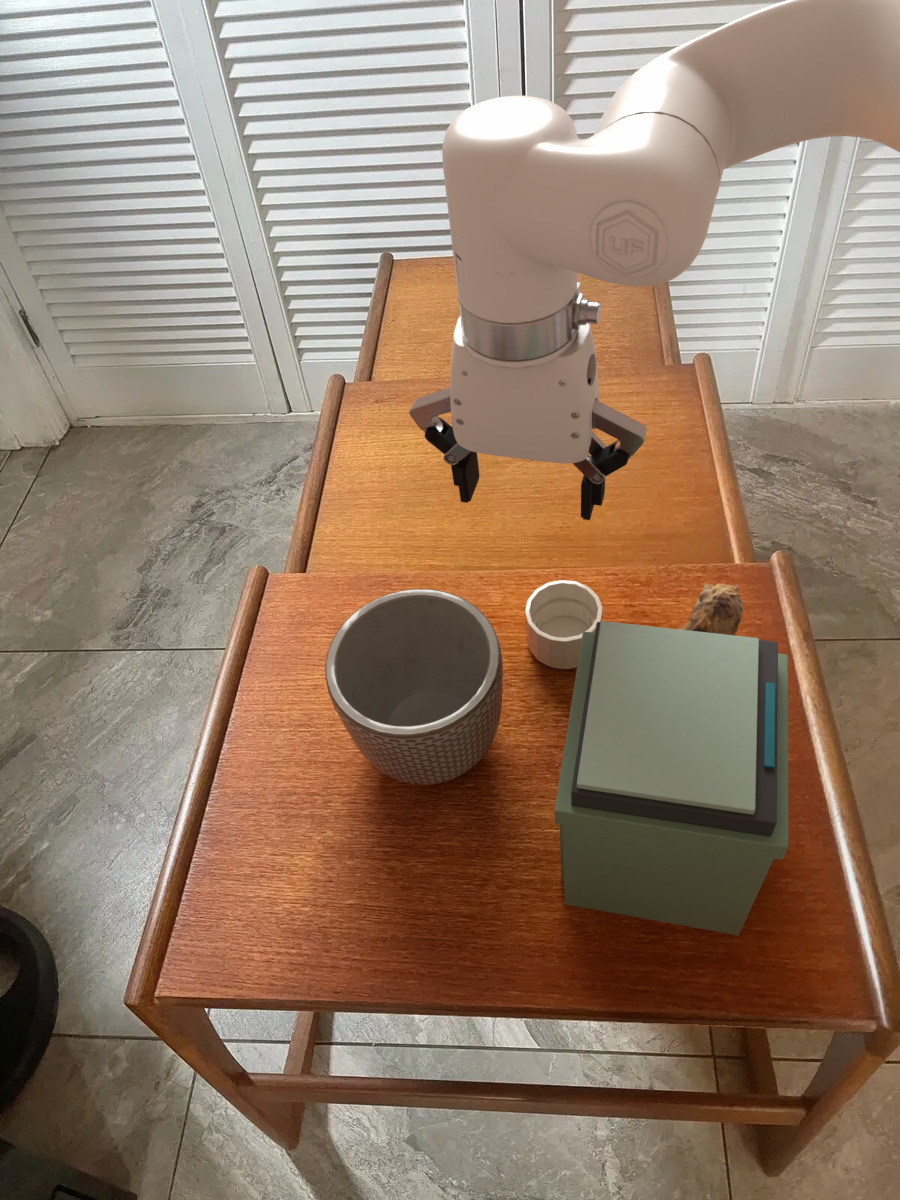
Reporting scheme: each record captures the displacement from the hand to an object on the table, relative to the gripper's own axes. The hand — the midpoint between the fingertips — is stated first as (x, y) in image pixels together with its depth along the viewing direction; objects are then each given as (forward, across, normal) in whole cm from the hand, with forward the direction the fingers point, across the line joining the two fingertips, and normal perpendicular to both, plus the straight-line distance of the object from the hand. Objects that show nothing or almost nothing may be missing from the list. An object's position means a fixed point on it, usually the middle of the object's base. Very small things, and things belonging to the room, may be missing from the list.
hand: (528, 498), depth 71 cm
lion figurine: (+18, -12, +2) cm, 22 cm away
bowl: (+18, -3, 0) cm, 19 cm away
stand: (+18, -14, +17) cm, 29 cm away
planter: (+18, +6, +13) cm, 24 cm away
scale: (+1, -14, +17) cm, 22 cm away
